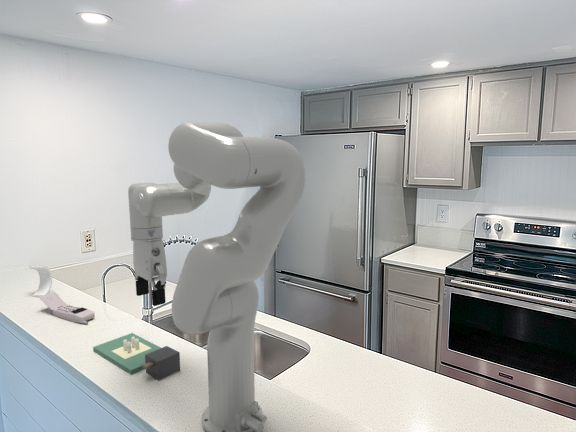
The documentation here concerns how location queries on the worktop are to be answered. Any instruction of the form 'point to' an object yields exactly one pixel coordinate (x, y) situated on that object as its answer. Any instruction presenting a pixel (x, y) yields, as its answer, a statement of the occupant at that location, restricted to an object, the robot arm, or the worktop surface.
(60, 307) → the mobile phone
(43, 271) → the headphone stand
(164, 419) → the worktop surface
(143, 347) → the header board
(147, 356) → the block
